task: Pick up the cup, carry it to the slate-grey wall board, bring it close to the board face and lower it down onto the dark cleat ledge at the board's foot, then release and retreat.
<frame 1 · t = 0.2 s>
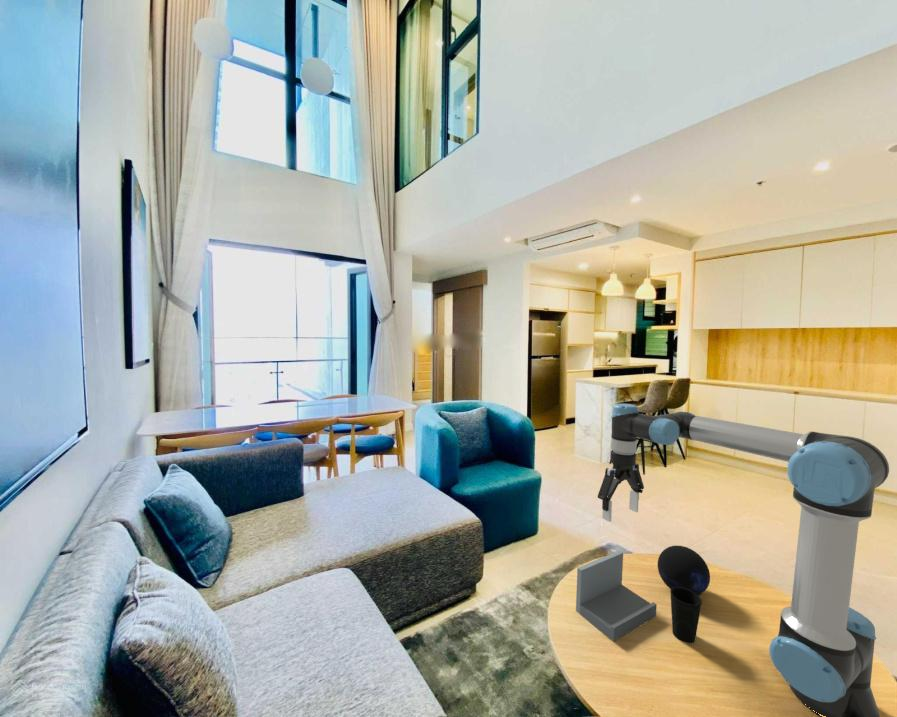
hand: (620, 515, 123), 27 cm above the table, fingers open, 13 cm apart
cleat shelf: (607, 607, 119), on the table
decorative sphere: (681, 592, 127), on the table
cup: (683, 636, 109), on the table
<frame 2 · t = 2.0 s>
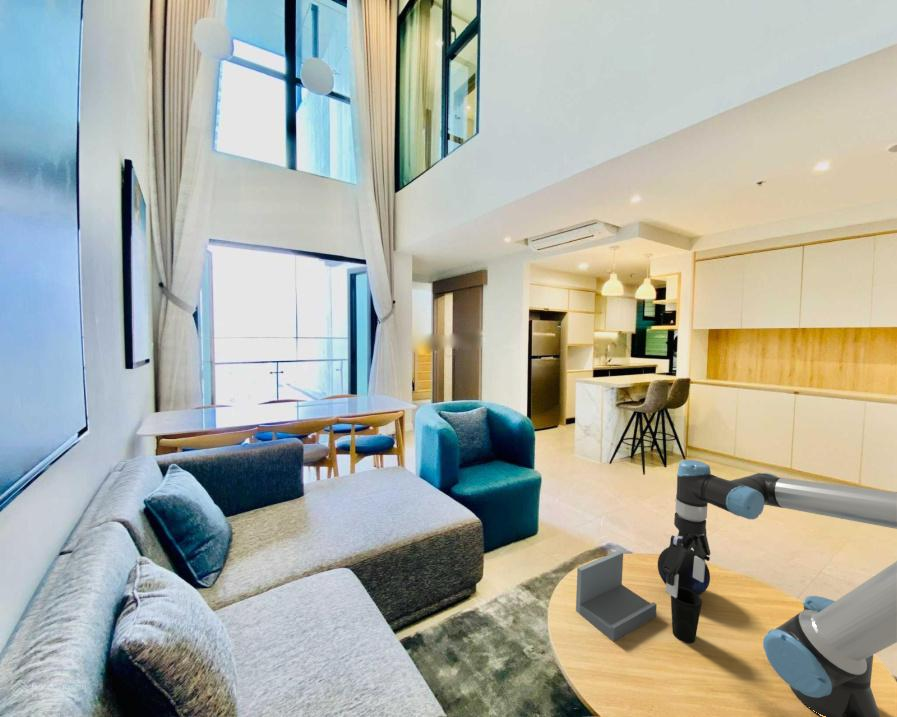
hand: (685, 586, 108), 14 cm above the table, fingers open, 13 cm apart
nothing on the table moved.
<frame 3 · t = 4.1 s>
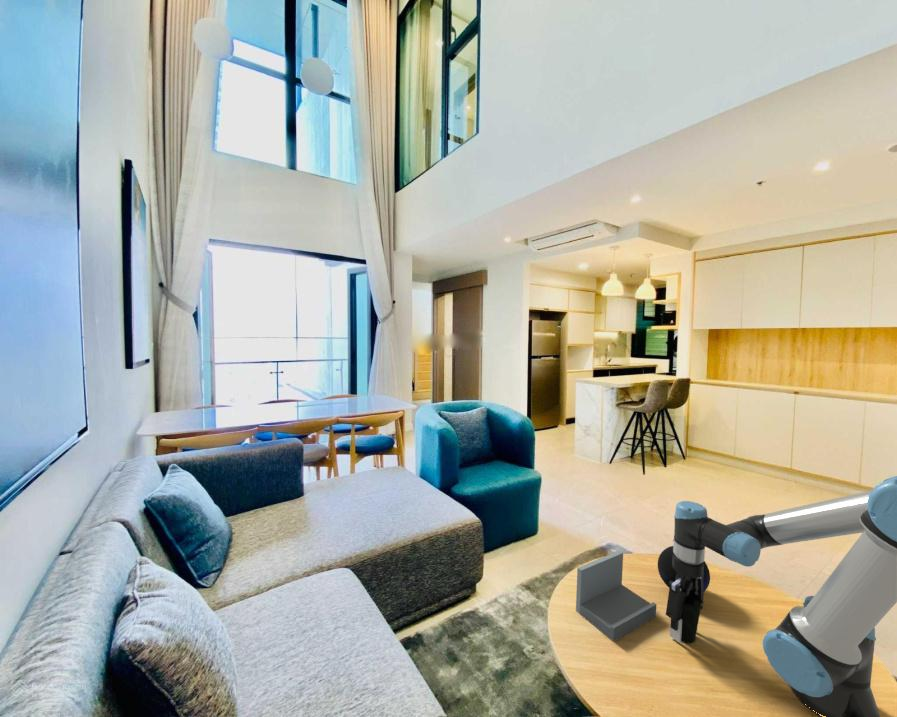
hand: (683, 633, 109), 1 cm above the table, fingers closed on cup, 8 cm apart
cup: (683, 636, 109), on the table, touching gripper
everything else where it was.
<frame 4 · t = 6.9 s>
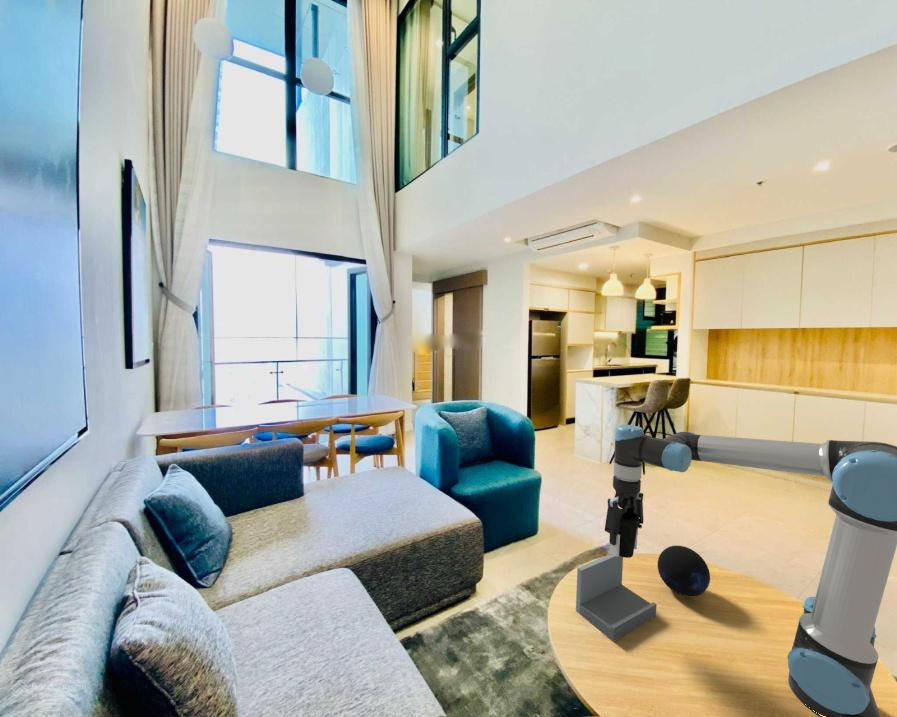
hand: (623, 550, 114), 21 cm above the table, fingers closed on cup, 8 cm apart
cup: (622, 552, 114), point 20 cm above the table, touching gripper
everything else where it was.
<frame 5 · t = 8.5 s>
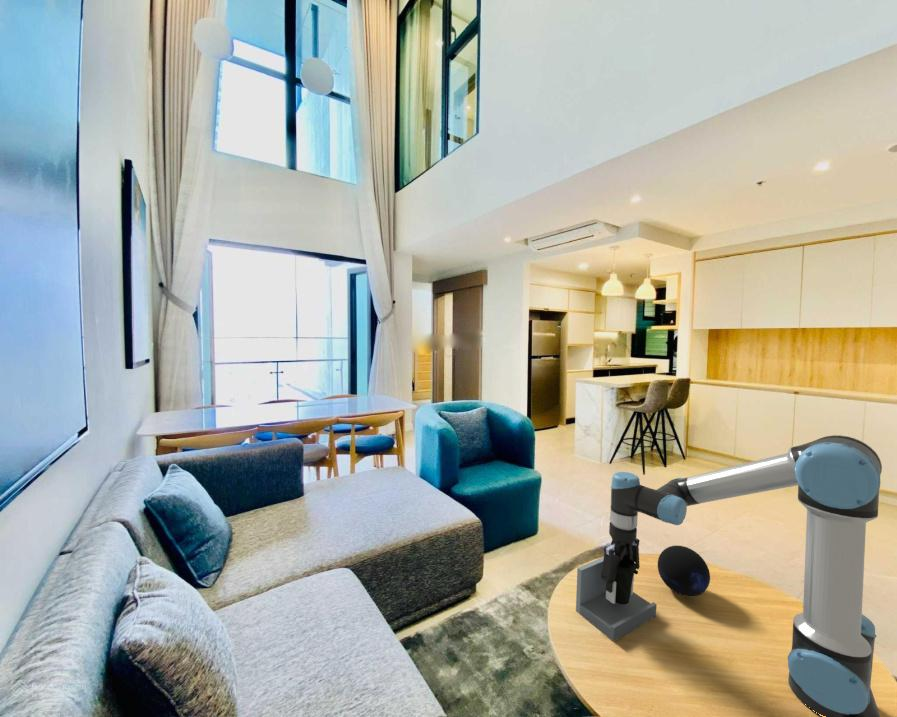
hand: (619, 596, 115), 6 cm above the table, fingers closed on cup, 8 cm apart
cup: (619, 598, 116), point 6 cm above the table, touching gripper
everything else where it was.
when the fingers open (5 cm above the table, at t = 9.6 s): cup stays where it is, resting on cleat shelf.
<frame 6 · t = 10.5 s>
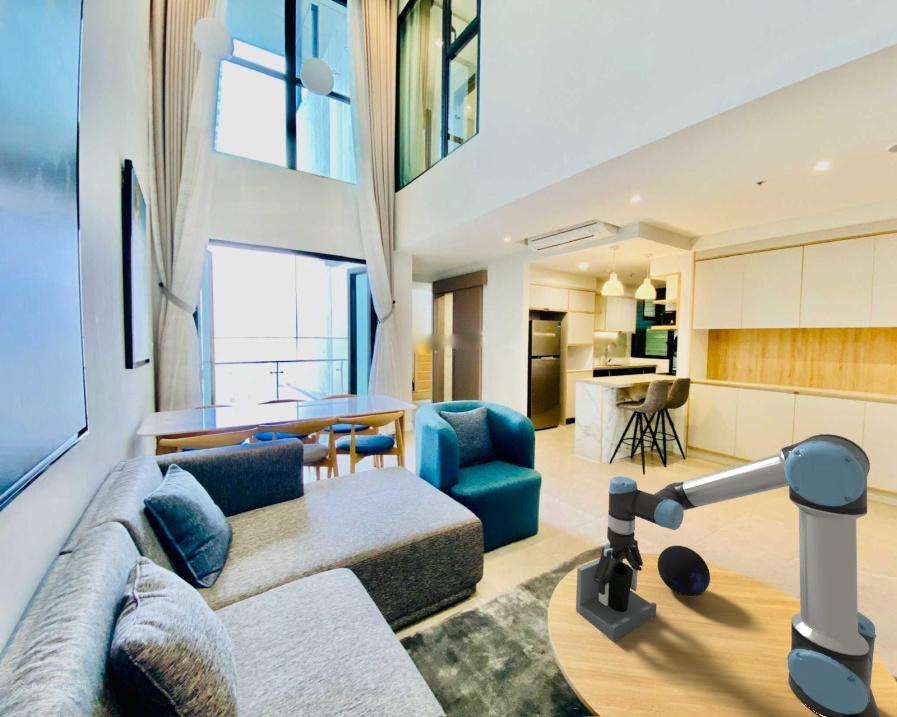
hand: (617, 595, 116), 6 cm above the table, fingers open, 13 cm apart
cup: (617, 605, 116), point 3 cm above the table, touching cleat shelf
everything else where it was.
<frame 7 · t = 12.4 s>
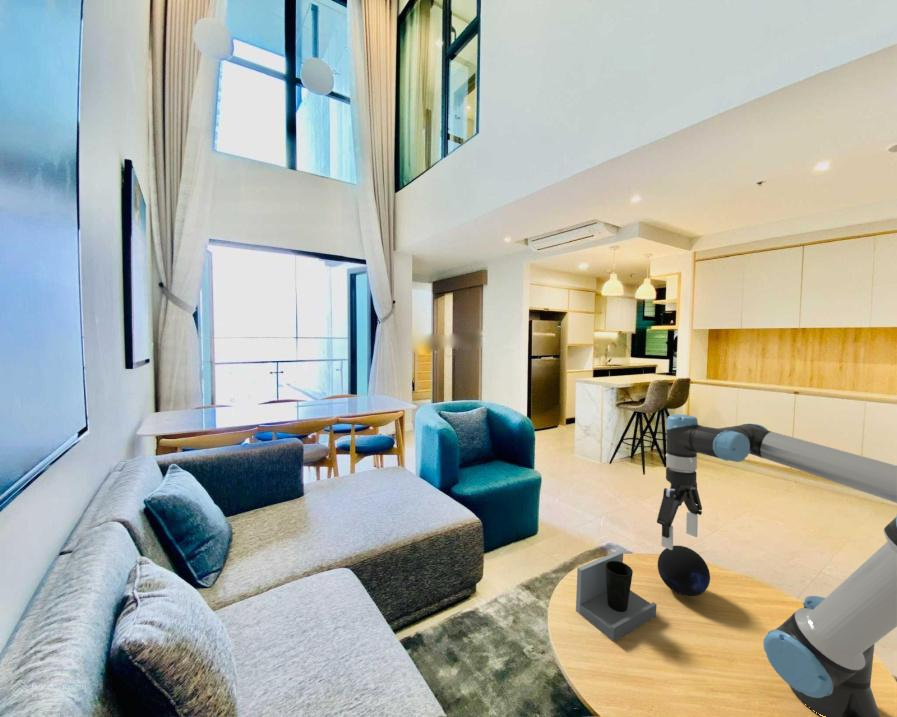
hand: (679, 541, 109), 27 cm above the table, fingers open, 13 cm apart
nothing on the table moved.
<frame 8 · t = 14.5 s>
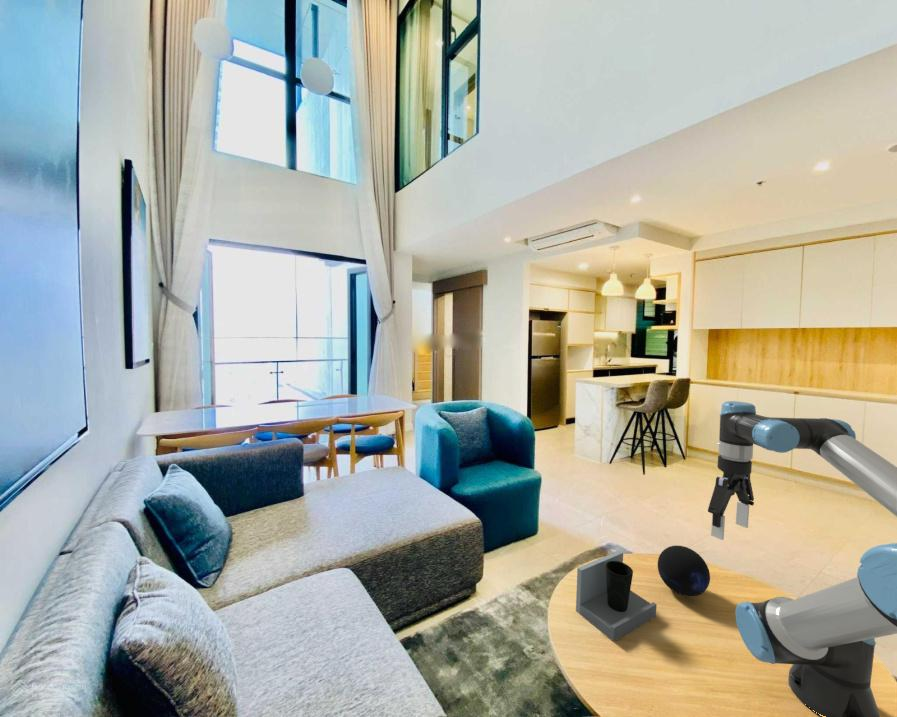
hand: (729, 531, 106), 32 cm above the table, fingers open, 13 cm apart
nothing on the table moved.
at the end: cup inside the target area on the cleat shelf (0.2 cm from its centre), point 2.8 cm above the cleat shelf's base; cup tilted 0°; cup touching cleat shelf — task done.
